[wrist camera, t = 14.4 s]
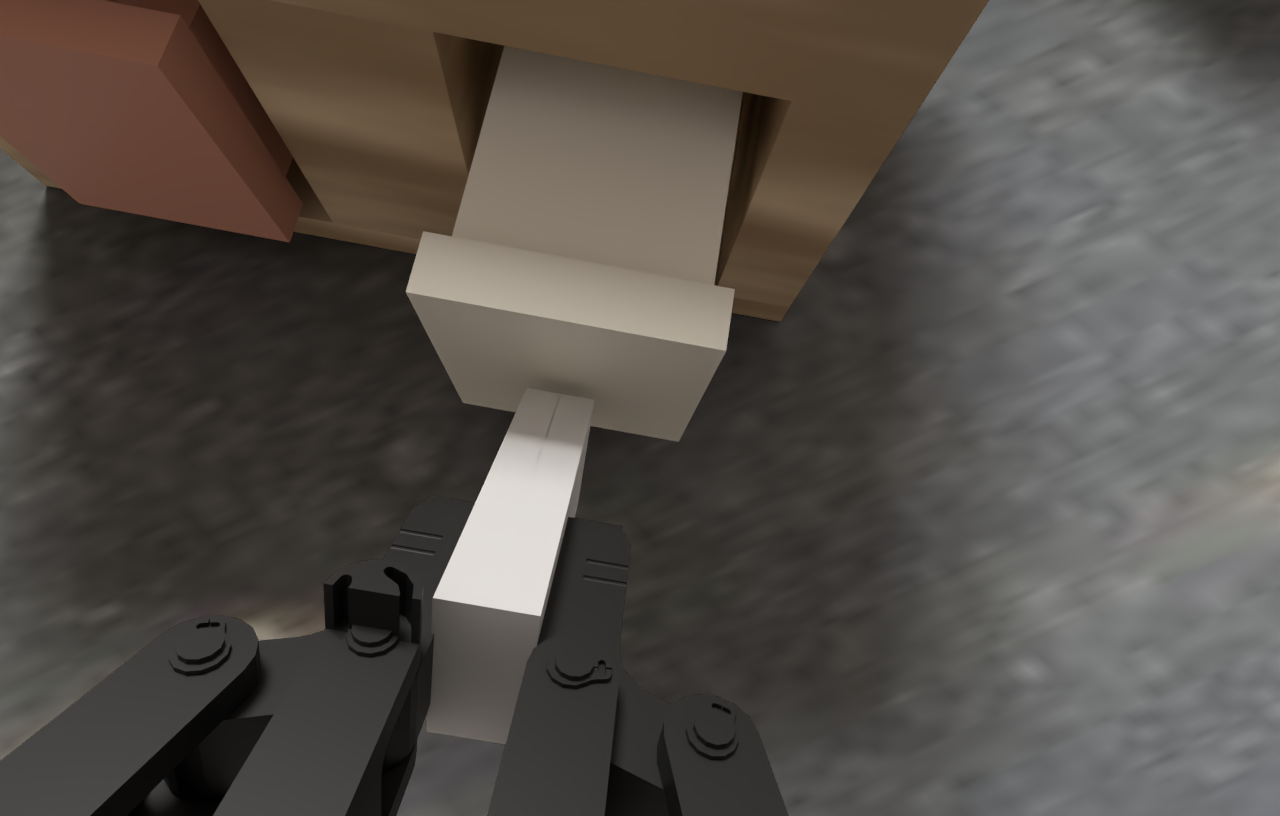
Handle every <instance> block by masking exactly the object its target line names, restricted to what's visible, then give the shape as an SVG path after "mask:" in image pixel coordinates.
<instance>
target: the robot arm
mask: <svg viewBox="0 0 1280 816" xmlns="http://www.w3.org/2000/svg"><path fill="white" fill-rule="evenodd" d="M593 407H594V400H592V399H586V398H581V397H575V396H569V395H564V394H558V393H553V392H547V391H542V390H536V389H530V388H527V389H526V391H525V393H524V395H523V397H522V400H521V402H520V404H519V406H518V409H517V411H516V413H515V415H514V418H513V420H512V422H511V424H510V427H509V429H508V431H507V433H506V435H505V438H504V440H503V442H502V444H501V447H500V449H499V451H498V453H497V456H496V458H495V460H494V462H493V465H492V467H491V469H490V471H489V473H488V476H487V478H486V480H485V482H484V485H483V487H482V489H481V491H480V494H479V496H478V498H477V500H476V502H470V501H464V500H458V499H452V498H447V497H441V496H435V495H432V496H430V497H429V498H427V499H426V500H424V501H423V502H422V503H420V504H419V505H417V506H416V507H415V508H413V509H412V510H411V511H410V513H409V515H408V517H407V518H406V520H405V522H404V524H403V525H402V527H401V530H400V532H398V534H397V536H396V538H395V539H394V541H393V543H392V546H391V548H389V550H388V551H387V553H386V555H385V557H384V558H383V560H374V559H371V560H366V561H361V562H356V563H352V564H350V565H348V566H346V567H344V568H342V569H340V570H338V571H336V572H335V573H334V574H333V575H332V576H331V577H330V578H329V579H328V580H327V581H326V582H325V583H324V605H325V630H324V631H321V632H318V633H315V634H312V635H307V636H301V637H295V638H284V639H272V640H261V641H258V638H257V636H256V634H255V631H254V629H253V627H251V626H250V625H248V624H247V623H245V622H244V621H242V620H241V619H237V618H232V617H227V616H209V617H200V618H196V619H193V620H190V621H187V622H184V623H181V624H178V625H177V626H175V627H173V628H172V629H170V630H168V631H166V632H165V633H163V634H161V635H160V636H159V637H157V638H156V639H155V640H153V641H152V642H151V643H150V644H148V645H147V646H146V647H145V648H143V649H142V650H141V651H139V652H138V653H137V654H136V655H134V656H133V657H132V658H131V659H129V660H128V661H127V662H125V663H124V664H123V665H122V666H120V667H119V668H118V669H117V670H115V671H114V672H113V673H112V674H110V675H109V676H108V677H106V678H105V679H104V680H103V681H101V682H100V683H99V684H98V685H96V686H95V687H94V688H92V689H91V690H90V691H89V692H87V693H86V694H85V695H84V696H82V697H81V698H80V699H78V700H77V701H76V702H75V703H73V704H72V705H71V706H70V707H68V708H67V709H66V710H65V711H63V712H62V713H61V714H59V715H58V716H57V717H56V718H54V719H53V720H52V721H51V722H49V723H48V724H47V725H45V726H44V727H43V728H42V729H40V730H39V731H38V732H37V733H35V734H34V735H33V736H31V737H30V738H29V739H28V740H26V741H25V742H24V743H23V744H21V745H20V746H19V747H17V748H16V749H15V750H14V751H12V752H11V753H10V754H9V755H7V756H6V757H5V758H4V759H2V760H1V761H0V816H396V815H397V812H398V809H399V806H400V804H401V801H402V798H403V796H404V793H405V790H406V787H407V785H408V782H409V779H410V777H411V774H412V771H413V768H414V766H415V759H416V752H417V738H418V735H419V732H420V730H421V727H422V725H423V722H424V719H425V717H426V714H427V725H426V732H432V733H438V734H444V735H450V736H456V737H462V738H468V739H474V740H480V741H486V742H492V743H499V744H505V749H504V753H503V757H502V761H501V765H500V768H499V772H498V776H497V780H496V784H495V788H494V792H493V796H492V800H491V804H490V807H489V811H488V815H487V816H788V813H787V810H786V807H785V805H784V802H783V799H782V796H781V794H780V791H779V788H778V785H777V783H776V780H775V777H774V774H773V772H772V769H771V766H770V763H769V761H768V758H767V755H766V752H765V750H764V747H763V744H762V741H761V739H760V736H759V733H758V731H757V730H756V728H755V726H754V724H753V723H752V721H751V719H750V717H749V716H748V715H746V714H745V713H744V712H743V711H742V710H741V709H740V708H738V707H737V706H736V705H735V704H733V703H731V702H729V701H727V700H724V699H722V698H720V697H718V696H711V695H703V694H698V695H693V696H688V697H684V698H682V699H681V700H679V701H678V702H677V703H675V704H674V705H673V704H671V703H668V702H666V701H664V700H662V699H660V698H658V697H656V696H654V695H652V694H650V693H649V692H647V691H645V690H644V689H642V688H641V687H640V686H638V685H637V684H636V683H635V682H634V681H633V680H632V679H631V678H630V676H629V675H628V673H627V672H626V671H625V669H624V667H623V664H622V661H621V659H620V639H621V630H622V620H623V611H624V602H625V593H626V583H627V575H628V565H629V556H630V547H631V545H630V543H629V541H628V539H627V537H626V535H625V532H624V530H623V528H622V526H618V525H613V524H607V523H601V522H595V521H590V520H584V519H578V518H575V514H576V510H577V506H578V501H579V495H580V488H581V482H582V476H583V469H584V463H585V457H586V451H587V444H588V438H589V432H590V425H591V419H592V413H593Z"/></svg>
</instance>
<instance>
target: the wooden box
mask: <svg viewBox="0 0 1280 816" xmlns="http://www.w3.org/2000/svg"><path fill="white" fill-rule="evenodd" d="M198 1H199V3H200V4H201V6H202V8H203V9H204V11H205V13H206V14H207V16H208V18H209V19H210V21H211V23H212V24H213V26H214V27H215V29H216V31H217V32H218V34H219V36H220V37H221V39H222V41H223V42H224V44H225V46H226V47H227V49H228V51H229V52H230V54H231V56H232V57H233V59H234V60H235V62H236V64H237V65H238V67H239V69H240V70H241V72H242V74H243V75H244V77H245V79H246V80H247V82H248V84H249V85H250V87H251V88H252V90H253V92H254V93H255V95H256V97H257V98H258V100H259V102H260V103H261V105H262V107H263V108H264V110H265V112H266V113H267V115H268V116H269V118H270V120H271V121H272V123H273V125H274V126H275V128H276V130H277V131H278V133H279V135H280V136H281V138H282V140H283V141H284V143H285V144H286V146H287V148H288V149H289V151H290V153H291V154H292V156H293V159H292V161H291V164H290V167H289V170H288V172H287V175H286V178H287V180H288V181H289V183H290V185H291V186H292V188H293V189H294V191H295V192H296V194H297V195H298V197H299V198H300V200H301V201H302V203H303V206H302V209H301V212H300V214H299V217H298V220H297V223H296V226H295V229H294V232H298V233H304V234H309V235H314V236H320V237H325V238H331V239H336V240H341V241H347V242H352V243H358V244H363V245H368V246H374V247H379V248H385V249H390V250H395V251H401V252H406V253H412V254H417V251H418V247H419V244H420V240H421V237H422V233H423V231H425V232H431V233H436V234H441V235H447V236H452V234H453V230H454V226H455V223H456V219H457V216H458V212H459V208H460V205H461V201H462V197H463V194H464V190H465V187H466V183H467V179H468V176H469V172H470V168H471V165H472V161H473V157H474V154H475V150H476V147H477V143H478V139H479V136H480V132H481V128H482V125H483V121H484V118H485V114H486V110H487V107H488V103H489V99H490V96H491V92H492V89H493V85H494V81H495V78H496V74H497V70H498V67H499V63H500V59H501V56H502V52H503V49H504V46H509V47H514V48H519V49H525V50H530V51H535V52H540V53H545V54H550V55H556V56H561V57H566V58H571V59H576V60H581V61H587V62H592V63H597V64H602V65H607V66H612V67H618V68H623V69H628V70H633V71H638V72H643V73H649V74H654V75H659V76H664V77H669V78H674V79H680V80H685V81H690V82H695V83H700V84H705V85H711V86H716V87H721V88H726V89H731V90H736V91H742V92H743V94H742V101H741V108H740V114H739V121H738V128H737V134H736V141H735V148H734V155H733V161H732V168H731V175H730V182H729V188H728V195H727V202H726V209H725V215H724V222H723V229H722V236H721V242H720V249H719V256H718V263H717V269H716V276H715V283H714V285H715V286H721V287H726V288H731V289H735V291H734V298H733V306H732V313H736V314H741V315H746V316H752V317H757V318H763V319H768V320H773V321H779V322H781V320H782V319H783V317H784V316H785V314H786V312H787V311H788V309H789V308H790V306H791V305H792V303H793V302H794V300H795V299H796V297H797V296H798V294H799V292H800V291H801V289H802V288H803V286H804V285H805V283H806V282H807V280H808V279H809V277H810V275H811V274H812V272H813V271H814V269H815V268H816V266H817V265H818V263H819V262H820V260H821V259H822V257H823V255H824V254H825V252H826V251H827V249H828V248H829V246H830V245H831V243H832V242H833V240H834V238H835V237H836V235H837V234H838V232H839V231H840V229H841V228H842V226H843V225H844V223H845V222H846V220H847V218H848V217H849V215H850V214H851V212H852V211H853V209H854V208H855V206H856V205H857V203H858V201H859V200H860V198H861V197H862V195H863V194H864V192H865V191H866V189H867V188H868V186H869V185H870V183H871V181H872V180H873V178H874V177H875V175H876V174H877V172H878V171H879V169H880V168H881V166H882V165H883V163H884V161H885V160H886V158H887V157H888V155H889V154H890V152H891V151H892V149H893V148H894V146H895V144H896V143H897V141H898V140H899V138H900V137H901V135H902V134H903V132H904V131H905V129H906V128H907V126H908V124H909V123H910V121H911V120H912V118H913V117H914V115H915V114H916V112H917V111H918V109H919V107H920V106H921V104H922V103H923V101H924V100H925V98H926V97H927V95H928V94H929V92H930V91H931V89H932V87H933V86H934V84H935V83H936V81H937V80H938V78H939V77H940V75H941V74H942V72H943V70H944V69H945V67H946V66H947V64H948V63H949V61H950V60H951V58H952V57H953V55H954V54H955V52H956V50H957V49H958V47H959V46H960V44H961V43H962V41H963V40H964V38H965V37H966V35H967V34H968V32H969V30H970V29H971V27H972V26H973V24H974V23H975V21H976V20H977V18H978V17H979V15H980V13H981V12H982V10H983V9H984V7H985V6H986V4H987V3H988V1H989V0H198ZM0 148H1V149H2V150H3V151H4V152H5V153H7V154H8V155H9V156H10V157H11V158H13V159H14V160H15V161H16V162H17V163H19V164H20V165H21V166H22V167H23V168H25V169H26V170H27V171H28V172H30V173H31V174H32V175H33V176H34V177H36V178H37V179H38V180H39V181H40V182H42V183H43V184H44V185H45V186H50V187H55V188H60V187H59V186H58V185H57V184H56V183H55V182H53V181H52V180H51V179H50V178H49V177H48V176H46V175H45V174H44V173H43V172H42V171H41V170H39V169H38V168H37V167H36V166H35V165H33V164H32V163H31V162H30V161H29V160H28V159H26V158H25V157H24V156H23V155H22V154H21V153H19V152H18V151H17V150H16V149H15V148H14V147H12V146H11V145H10V144H9V143H8V142H6V141H5V140H4V139H3V138H2V137H1V136H0ZM61 189H62V188H61Z"/></svg>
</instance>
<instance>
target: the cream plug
mask: <svg viewBox="0 0 1280 816" xmlns="http://www.w3.org/2000/svg"><path fill="white" fill-rule="evenodd" d="M742 94H743V92H742V91H736V90H731V89H726V88H721V87H716V86H711V85H705V84H700V83H695V82H690V81H685V80H680V79H674V78H669V77H664V76H659V75H654V74H649V73H643V72H638V71H633V70H628V69H623V68H618V67H612V66H607V65H602V64H597V63H592V62H587V61H581V60H576V59H571V58H566V57H561V56H556V55H550V54H545V53H540V52H535V51H530V50H525V49H519V48H514V47H509V46H504V49H503V52H502V56H501V59H500V63H499V67H498V70H497V74H496V78H495V81H494V85H493V89H492V92H491V96H490V99H489V103H488V107H487V110H486V114H485V118H484V121H483V125H482V128H481V132H480V136H479V139H478V143H477V147H476V150H475V154H474V157H473V161H472V165H471V168H470V172H469V176H468V179H467V183H466V187H465V190H464V194H463V197H462V201H461V205H460V208H459V212H458V216H457V219H456V223H455V226H454V230H453V234H452V236H447V235H441V234H436V233H431V232H425V231H423V233H422V237H421V240H420V244H419V247H418V251H417V254H416V258H415V261H414V265H413V268H412V271H411V275H410V278H409V282H408V285H407V289H406V294H407V296H408V298H409V300H410V301H411V303H412V305H413V307H414V309H415V311H416V313H417V315H418V317H419V319H420V321H421V323H422V325H423V327H424V329H425V331H426V332H427V334H428V336H429V338H430V340H431V342H432V344H433V346H434V348H435V350H436V352H437V354H438V356H439V358H440V360H441V362H442V363H443V365H444V367H445V369H446V371H447V373H448V375H449V377H450V379H451V381H452V383H453V385H454V387H455V389H456V391H457V392H458V394H459V396H460V398H461V400H462V402H463V403H466V404H472V405H477V406H483V407H488V408H494V409H499V410H505V411H510V412H516V411H517V409H518V406H519V404H520V402H521V400H522V397H523V395H524V393H525V391H526V389H527V388H530V389H536V390H542V391H547V392H553V393H558V394H564V395H569V396H575V397H581V398H586V399H592V400H594V407H593V413H592V419H591V425H590V426H594V427H599V428H605V429H610V430H616V431H621V432H627V433H633V434H638V435H644V436H649V437H655V438H660V439H666V440H671V441H677V442H679V440H680V438H681V437H682V435H683V433H684V431H685V429H686V427H687V425H688V423H689V421H690V419H691V417H692V415H693V414H694V412H695V410H696V408H697V406H698V404H699V402H700V400H701V398H702V396H703V394H704V392H705V391H706V389H707V387H708V385H709V383H710V381H711V379H712V377H713V375H714V373H715V371H716V370H717V368H718V366H719V364H720V362H721V360H722V358H723V356H724V354H725V352H726V349H727V342H728V335H729V327H730V320H731V313H732V306H733V298H734V291H735V289H731V288H726V287H721V286H715V285H714V283H715V276H716V269H717V263H718V256H719V249H720V242H721V236H722V229H723V222H724V215H725V209H726V202H727V195H728V188H729V182H730V175H731V168H732V161H733V155H734V148H735V141H736V134H737V128H738V121H739V114H740V108H741V101H742Z"/></svg>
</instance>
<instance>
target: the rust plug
mask: <svg viewBox="0 0 1280 816" xmlns="http://www.w3.org/2000/svg"><path fill="white" fill-rule="evenodd" d="M0 136H1V137H2V138H3V139H4V140H5V141H6V142H8V143H9V144H10V145H11V146H12V147H14V148H15V149H16V150H17V151H18V152H19V153H21V154H22V155H23V156H24V157H25V158H26V159H28V160H29V161H30V162H31V163H32V164H33V165H35V166H36V167H37V168H38V169H39V170H41V171H42V172H43V173H44V174H45V175H46V176H48V177H49V178H50V179H51V180H52V181H53V182H55V183H56V184H57V185H58V186H59V187H60V188H62V189H63V190H64V191H65V192H66V193H68V194H69V195H70V196H71V197H72V198H73V199H75V200H76V201H77V202H78V203H79V204H84V205H90V206H95V207H100V208H106V209H111V210H117V211H122V212H127V213H133V214H138V215H144V216H149V217H155V218H160V219H165V220H171V221H176V222H182V223H187V224H192V225H198V226H203V227H209V228H214V229H219V230H225V231H230V232H236V233H241V234H246V235H252V236H257V237H263V238H268V239H274V240H279V241H284V242H290V240H291V237H292V234H293V232H294V229H295V226H296V223H297V220H298V217H299V214H300V212H301V209H302V206H303V203H302V201H301V200H300V198H299V197H298V195H297V194H296V192H295V191H294V189H293V188H292V186H291V185H290V183H289V181H288V180H287V178H286V175H287V172H288V170H289V167H290V164H291V161H292V159H293V156H292V154H291V153H290V151H289V149H288V148H287V146H286V144H285V143H284V141H283V140H282V138H281V136H280V135H279V133H278V131H277V130H276V128H275V126H274V125H273V123H272V121H271V120H270V118H269V116H268V115H267V113H266V112H265V110H264V108H263V107H262V105H261V103H260V102H259V100H258V98H257V97H256V95H255V93H254V92H253V90H252V88H251V87H250V85H249V84H248V82H247V80H246V79H245V77H244V75H243V74H242V72H241V70H240V69H239V67H238V65H237V64H236V62H235V60H234V59H233V57H232V56H231V54H230V52H229V51H228V49H227V47H226V46H225V44H224V42H223V41H222V39H221V37H220V36H219V34H218V32H217V31H216V29H215V27H214V26H213V24H212V23H211V21H210V19H209V18H208V16H207V14H206V13H205V11H204V9H203V8H202V6H201V4H200V3H199V1H198V0H0Z"/></svg>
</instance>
